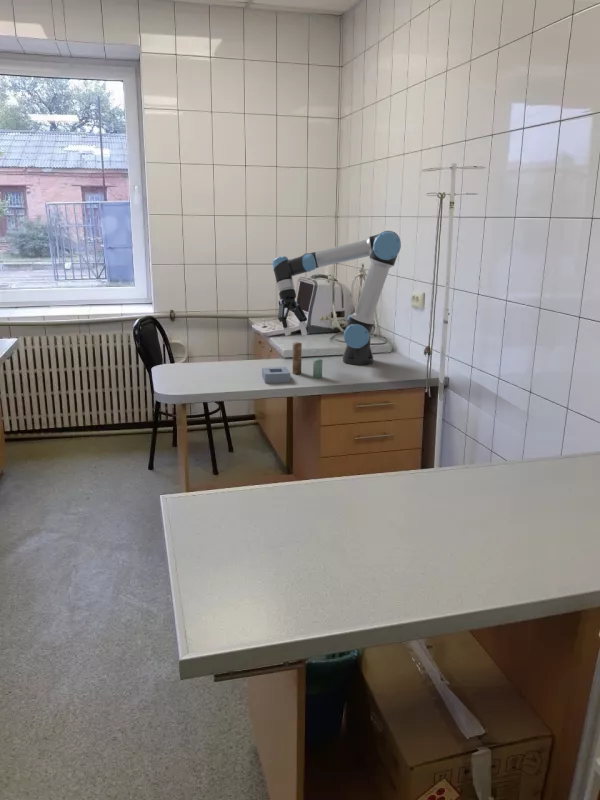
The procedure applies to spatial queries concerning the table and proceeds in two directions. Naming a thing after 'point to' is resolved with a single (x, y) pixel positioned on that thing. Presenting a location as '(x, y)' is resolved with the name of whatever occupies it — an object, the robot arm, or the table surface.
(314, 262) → the robot arm
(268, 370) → the socket block
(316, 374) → the green pin short
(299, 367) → the walnut pin long
